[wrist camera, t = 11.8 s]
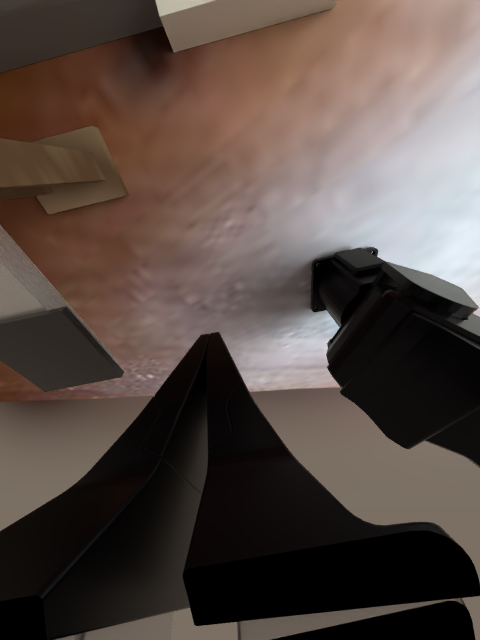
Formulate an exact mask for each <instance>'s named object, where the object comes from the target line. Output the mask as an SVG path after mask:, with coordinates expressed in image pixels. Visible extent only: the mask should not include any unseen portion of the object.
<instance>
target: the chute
mask: <svg viewBox="0 0 480 640" xmlns="http://www.w3.org/2000/svg"><path fill="white" fill-rule="evenodd" d="M162 26H163V24H162V21H161V19H160V16H159V12H158V8H157V5H156V1H155V0H0V73H2V72H6V71H9V70H13V69H16V68H20V67H23V66H27V65H30V64H34V63H37V62H41V61H44V60H47V59H51V58H54V57H58V56H61V55H65V54H68V53H72V52H75V51H79V50H82V49H86V48H89V47H93V46H96V45H100V44H103V43H107V42H110V41H114V40H117V39H121V38H124V37H128V36H131V35H135V34H138V33H141V32H145V31H148V30H152V29H155V28H159V27H162Z"/></svg>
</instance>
